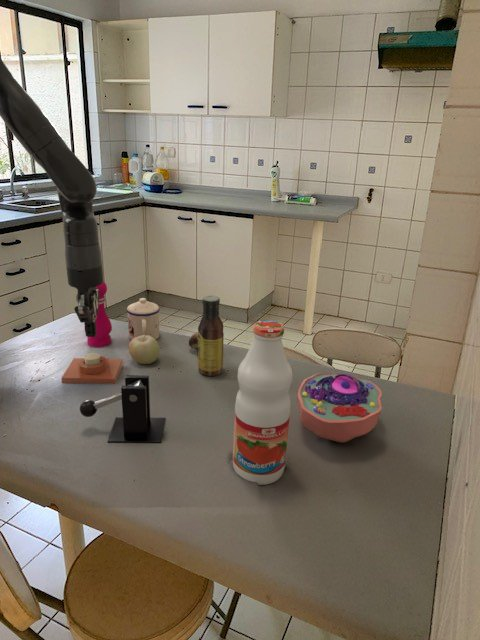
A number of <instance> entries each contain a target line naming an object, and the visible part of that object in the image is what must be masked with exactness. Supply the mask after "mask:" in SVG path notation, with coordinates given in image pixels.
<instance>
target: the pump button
mask: <svg viewBox="0 0 480 640" xmlns="http://www.w3.org/2000/svg"><path fill="white" fill-rule="evenodd" d="M100 356H101V354H100V353H98V352H89V353H86V354H85V355H84V356H83V358H84V360H85V365H91V366H93V365H97V364H99V363H100V362H101V360H100Z"/></svg>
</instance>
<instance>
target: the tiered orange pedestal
mask: <svg viewBox="0 0 480 640" xmlns="http://www.w3.org/2000/svg"><path fill="white" fill-rule="evenodd" d="M100 360H101V362H100V363H99V364H97V365H93V366H91V365H85V360H84V357H82V358H81V357H79V358H78V357H74V358H73V359H72V360H71V361H70V364H69V365H68V367H67V368H66V370H65V371H64V373H63V375H62V376H61V379H60V380H61V384H106V385H107V384H110V385H111V384H115V383H116V382H117V380H119V377H120V375H121V372H122V370H123V368H124V363H123V362H124V361H123V358H106V357H105V356H103V355H100Z"/></svg>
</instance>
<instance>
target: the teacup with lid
mask: <svg viewBox="0 0 480 640" xmlns="http://www.w3.org/2000/svg"><path fill="white" fill-rule="evenodd" d="M126 312H127V324H128V328H127V329H128V338H129V340H131V341H132V340H133V339H134V338H136V337H138V336H142V335H145V334H147V335H149V336H151V337H153V338H154V339H155V340H156V341H157V340H158V339H159V337H160V306H159V305H158V304H157V303H155V302H151V301H148V300H147V298H146V297H141V298H140V297H139V300H138V301H136V302H133V303H130V304H129V305H128V306H127V308H126Z"/></svg>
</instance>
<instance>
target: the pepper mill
mask: <svg viewBox="0 0 480 640" xmlns="http://www.w3.org/2000/svg"><path fill="white" fill-rule="evenodd" d="M96 290H100V295H99V307H98V314H96V316H97V318H96V319H95V320H96V330H97V334H96V335H95V337H87V336H86V339H87V341H86V342H87V345H88V346H90V347H93V348H102V347H106V346H108V345H110V344H111V343H112V336H111V333H112V331H113V325H112V321H111V319H110V318H109V315H108V314H107V311H106V308H105V303H106V301H107V297H106V294H107V291H108V286H107V284H106V282H105V281H103V283H102V284H101V285H100V286H97V287H96Z"/></svg>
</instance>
